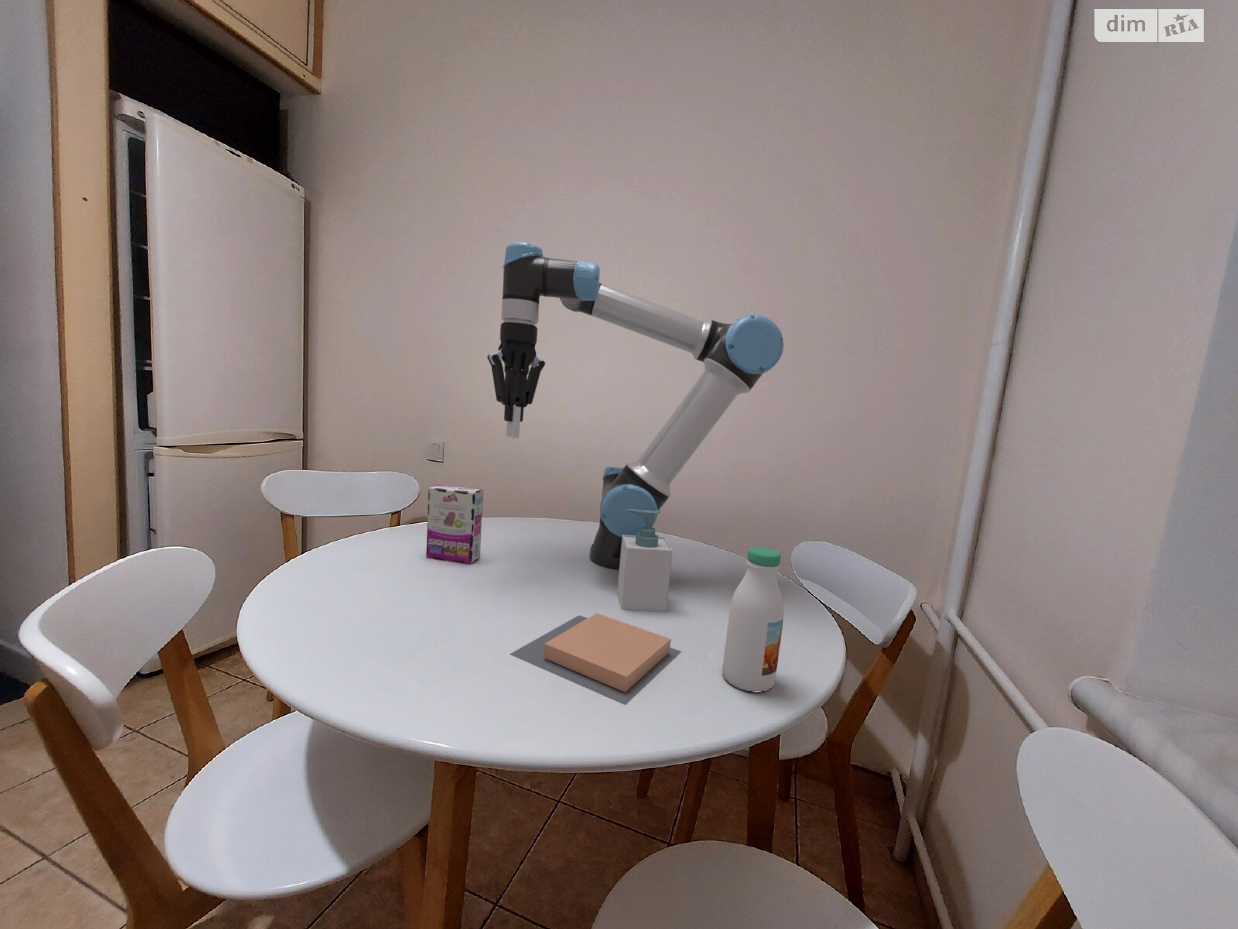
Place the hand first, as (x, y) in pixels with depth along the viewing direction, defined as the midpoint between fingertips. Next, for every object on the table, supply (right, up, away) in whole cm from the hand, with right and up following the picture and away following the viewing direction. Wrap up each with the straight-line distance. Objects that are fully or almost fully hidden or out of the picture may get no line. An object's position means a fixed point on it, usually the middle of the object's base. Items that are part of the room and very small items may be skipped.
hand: (512, 436), depth 110 cm
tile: (+15, -33, -28) cm, 46 cm away
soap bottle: (+27, -34, -9) cm, 44 cm away
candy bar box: (-15, -28, +8) cm, 33 cm away
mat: (+19, -36, -30) cm, 51 cm away
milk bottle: (+42, -38, -32) cm, 65 cm away
